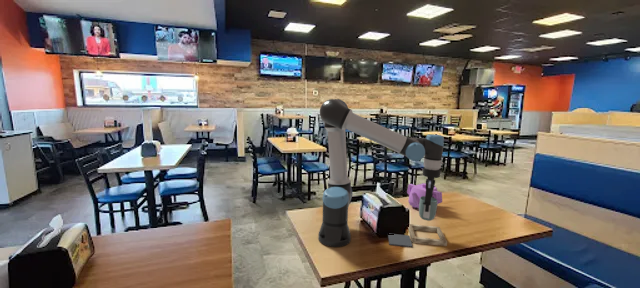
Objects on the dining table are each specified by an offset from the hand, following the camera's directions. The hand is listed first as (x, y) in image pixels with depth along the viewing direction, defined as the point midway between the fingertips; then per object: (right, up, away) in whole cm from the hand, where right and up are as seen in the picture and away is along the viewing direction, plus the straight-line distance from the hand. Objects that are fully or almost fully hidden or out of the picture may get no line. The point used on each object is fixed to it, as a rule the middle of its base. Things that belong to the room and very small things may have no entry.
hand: (426, 214), depth 132 cm
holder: (0, -11, +2) cm, 11 cm away
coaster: (-14, -12, -3) cm, 18 cm away
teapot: (+12, -6, +39) cm, 41 cm away
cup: (0, -2, 0) cm, 2 cm away
